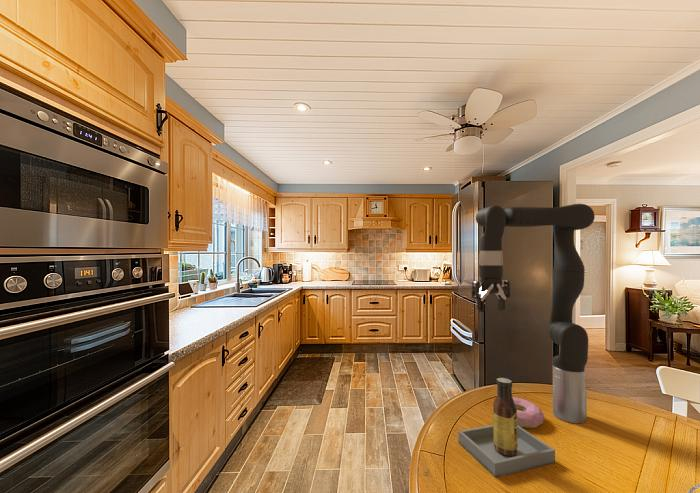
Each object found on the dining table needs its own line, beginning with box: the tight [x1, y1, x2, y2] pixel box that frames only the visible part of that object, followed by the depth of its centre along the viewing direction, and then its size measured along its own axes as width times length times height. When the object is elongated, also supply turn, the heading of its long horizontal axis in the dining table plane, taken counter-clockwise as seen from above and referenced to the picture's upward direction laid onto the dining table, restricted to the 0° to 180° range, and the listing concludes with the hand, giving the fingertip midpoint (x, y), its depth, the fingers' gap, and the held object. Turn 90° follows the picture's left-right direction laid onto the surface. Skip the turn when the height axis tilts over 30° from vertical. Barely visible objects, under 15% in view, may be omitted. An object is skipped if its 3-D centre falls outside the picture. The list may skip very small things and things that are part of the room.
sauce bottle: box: [492, 377, 518, 456], centre depth 89 cm, size 7×6×20 cm
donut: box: [512, 396, 545, 429], centre depth 108 cm, size 16×15×5 cm
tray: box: [458, 424, 556, 478], centre depth 89 cm, size 20×15×4 cm
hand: (491, 310), depth 106 cm, fingers open, 8 cm apart
